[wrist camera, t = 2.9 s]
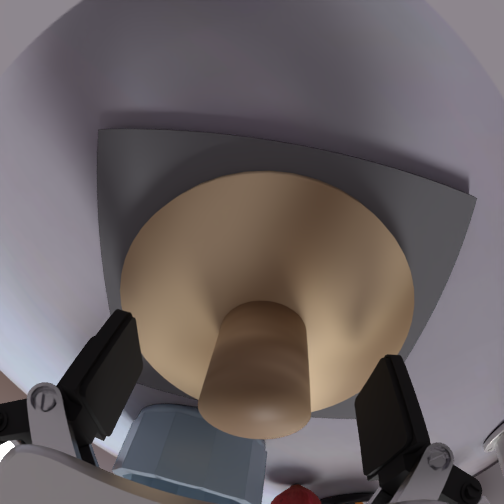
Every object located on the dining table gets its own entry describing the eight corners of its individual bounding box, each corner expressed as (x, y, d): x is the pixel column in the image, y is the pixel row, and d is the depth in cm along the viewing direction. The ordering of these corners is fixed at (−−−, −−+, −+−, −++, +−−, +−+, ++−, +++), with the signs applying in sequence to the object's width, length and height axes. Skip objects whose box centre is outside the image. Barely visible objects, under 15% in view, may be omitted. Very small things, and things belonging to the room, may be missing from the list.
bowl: (278, 421, 17) (272, 497, 11) (255, 469, 22) (248, 519, 16) (127, 387, 17) (95, 451, 12) (148, 445, 22) (131, 491, 17)
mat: (469, 194, 9) (476, 198, 9) (362, 412, 16) (363, 418, 15) (106, 128, 10) (98, 129, 9) (129, 373, 16) (126, 379, 16)
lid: (445, 210, 9) (522, 266, 5) (349, 410, 15) (357, 478, 10) (125, 154, 10) (33, 182, 5) (144, 377, 15) (114, 440, 11)
